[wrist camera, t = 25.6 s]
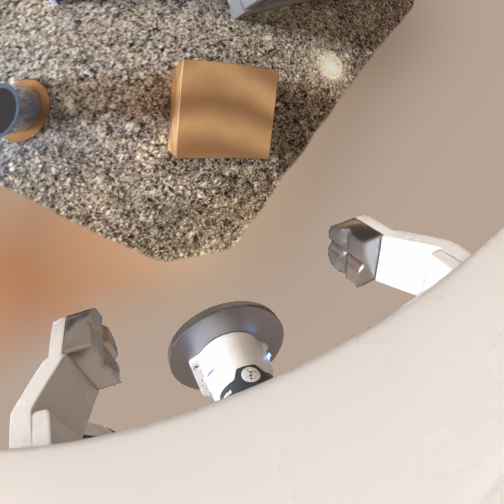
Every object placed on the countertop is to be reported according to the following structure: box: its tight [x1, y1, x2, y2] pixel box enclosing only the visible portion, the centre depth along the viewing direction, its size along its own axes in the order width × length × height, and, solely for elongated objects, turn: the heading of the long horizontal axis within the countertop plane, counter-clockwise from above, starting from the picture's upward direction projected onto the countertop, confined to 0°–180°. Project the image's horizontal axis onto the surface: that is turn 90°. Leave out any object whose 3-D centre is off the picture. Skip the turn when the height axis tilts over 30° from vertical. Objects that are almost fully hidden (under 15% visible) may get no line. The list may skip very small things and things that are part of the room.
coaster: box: [5, 79, 50, 142], centre depth 25 cm, size 9×9×1 cm
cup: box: [0, 84, 41, 138], centre depth 22 cm, size 6×6×9 cm
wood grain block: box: [168, 59, 279, 159], centre depth 34 cm, size 12×12×8 cm
